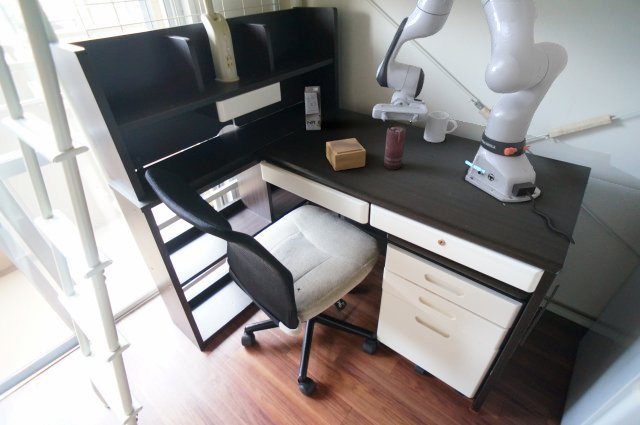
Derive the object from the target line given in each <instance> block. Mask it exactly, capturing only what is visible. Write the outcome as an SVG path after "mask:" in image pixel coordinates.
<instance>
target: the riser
mask: <svg viewBox="0 0 640 425" xmlns="http://www.w3.org/2000/svg"><path fill="white" fill-rule="evenodd" d="M325 147H326V148H325V152H326V154H325V155H326V158H327V160H328V162H329V164H330V165H331V166H332V168H333V170H334V171H335V172H338V171H345V170H348V169H356V168H361V167H365V166H366V157H367V156H366V154H367V150H366V149H365V148H364V147H363V146H362V144H360V142H359V141H358V140H357V139H356V138H355V137H353V138H345V139H339V140H333V141H332V140H331V141H326V142H325Z"/></svg>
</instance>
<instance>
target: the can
mask: <svg viewBox="0 0 640 425" xmlns="http://www.w3.org/2000/svg"><path fill="white" fill-rule="evenodd" d="M406 135H407V130H406V127H405V126H403V125H399V124H393V125H390V126H388V128H387V130H386V138H385V145H384V146H385V148H384V157H383V166H384V167H385V168H386V169H387V170H393V171H395V170H396V171H397V170H399V169H400V168H401V167H402V164H403V157H404V150H405V144H406V142H405V141H406Z"/></svg>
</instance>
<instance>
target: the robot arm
mask: <svg viewBox="0 0 640 425" xmlns="http://www.w3.org/2000/svg"><path fill="white" fill-rule="evenodd" d="M480 1H481V6H482V9H483V12H484V15H485V19H486V24H487V26H488V30H489V35H490V42H491V44H490V47H491V48H490V49H491V50H490V60H489V62H488V64H487V66H486V68H485V71H484V82H485V84H486V86H487V88H488V89H489V90H490V91H492V92H493V93H496V94H501V95H500V97H499V99H498V100H497V101H496V102H495V103H494V104H493V106H492V107H491V109H490V112H489V116H488V120H487V123H486V126H485V130H484V131H483V132H482V134H481V137H480V141H479V144H480V145H479V148H478V150H477V152H476V154H475V155H474V156H475V157H474V158H473V161H472V162H470V161H468V160H465V164H467V165H468V166H469V168H468V169H467V174H466V175H465V177H464V180H465V181H467V182H468V183H470V184H472V185H474V186H475V187H477V188H478V189H480V190H482V191H484V192H485V193H487V194H489V195H490V196H492V197H494V198H495V199H497V200H499V202H502V203H503V202H504V203H521V202H526V201H531V203H532V211H533V212H534V213H535V214H537V215H538V216H541V217H543V218H545V219H546V221H547V225H548V227H549V229H551V230H552V231H554V232H555V233H558V234H560V235H563V236H564V237H566V238H568V240H569V241H570V243H571V244H572V245H575V244H576V242H575V240H574V238H573V237H572V236H571V235H570V234H569V233H567V232H566V231H563V230H561V229H559V228H556V227H554V225H553V224H552V219H551V218H550V216H549V215H547V214H546V213H543V212H540V211H539V210H537V207H536V206H537V203H536V198H538V197H539V196H540V195H541V193H542V192H541V190H540V189H539V187H537V185H535V183H536V178H537V173H536V171H535V170H534V166H533V164H531V162H530V160H529V158H528V157H527V155H526V150H530V148H531V145H527V138H526V136H527V133H528V130H529V129H530V126H531V123H532V120H533V118H534V116H535V113H536V112H537V110H538V108H539V107H540V104H541V103H542V101H543V100H544V98H545V97H546V95H547V93H548V91H550V89H551V87H552V85H553V84H554V82H555V80H556V79H557V78H558V77H559V76H560V75H561V74H562V73H563V72H564V70H565V69H566V67H567V65H568V60H569V59H568V58H569V54H568V52H567V50H566V48H565V47H564V46H563V45H562V44H559V43H555V42H550V41H541V42H536V43H535V38H534V36H535V34H534V29H535V27H534V26H535V21H536V19H537V18H538V15H539V11H538V7H537V3H536V0H480ZM454 2H455V0H417V3H416V6H415V8H414V10H413V12H412V13H411V14H410V15H409V16H406V17H404V18H403V19H402V21H401V22H400V23H399V26H398V28H397V30H396V32H395V33H394V35H393V38H392V40H391V43H390V44H389V47H388V49H387V51H386V53H385V56H384V58H383V60H382V61H381V63H380V64H379V66H378V68H377V71H376V74H375V75H376V77H375V78H376V82H377V84H378V85H379V87H380V88H381V87H382V88H388V89H394V90H395V91H394V92H393V93H392V97H391V101H390V103H377V104H375V105H374V106H373V108H372V115H371V116H372V118H373V119H375V120H377V119H379V120H382V122H384V123H388V120H391V121H404V122H405V121H406V122H409V124H412V125H414V124H415V123H416V122H419V123H421V122H422V123H426V121H427V118H428V113H429V108H428V106H427V105H426V101H425V100H424V99H419V98H418V97H419V96H420V94H421V92H422V90H423V87H424V83H425V77H426V76H425V72H424V70H423V68H422V67H420V66H417V65H414V64H413V65H412V64H407V63H403V62H399V61H397V60H396V59H397V57H398V54H399V53H400V50H401V49H402V47H403V45H404V44H405V43H406V42H408V41H409V42H410V41H412V40H417V39H424V38H429V37H432V36H434V35H436V34H437V33H439V32H440V31H441V30H442V29H443V28H444V27H445V25H446V22H447V20H448V19H449V16H450V14H451V12H452V9H453V5H454ZM560 286H561V284H560V283H559V284H556V285H555V287H554V288H553V290H552V292H551V294H550V296H549V297H548V299H547V300H546V302H545V304H544V305H543V307H542V308H541V310H540V312H539V313H538V314H537V316H536V317H535V319H534V320H533V322H532V324H530V326H529V328H528V330H527V331H526V333H525V334H524V336H523V338H522V340H521V341H520V343H519V346H520V347H522V346H523V345H524V343H525V341H526V340H527V338H528V336H529V335H530V334H531V332H532V330H533V329H534V327H535V326H536V324H537V323H538V321H539V320H540V318H541V317H542V316H543V314H544V313H545V311H546V309H547V308H548V306H549V304H550V303H551V301H552V300H553V298H554V297H555V295H556V294H557V291H558V290H559V289H560Z"/></svg>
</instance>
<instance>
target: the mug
mask: <svg viewBox="0 0 640 425" xmlns="http://www.w3.org/2000/svg"><path fill="white" fill-rule="evenodd" d="M449 123H452V124H453V128H452V129H450V130H447V129H448V125H449ZM458 126H459V125H458V122H457V120H455V119H450V114H449V113H448V112H446V111H443V110H442V111H441V110H433V111H428V118H427V121H426V122H425V126H424V131H423V140H425V141H426V142H429V143H430V142H431V143H442V142H444V141H445V139H446V134H447V135H448V134H451V133H454V132H455V130H457V128H458Z"/></svg>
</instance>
